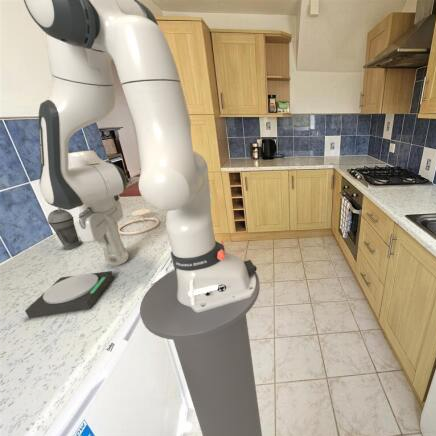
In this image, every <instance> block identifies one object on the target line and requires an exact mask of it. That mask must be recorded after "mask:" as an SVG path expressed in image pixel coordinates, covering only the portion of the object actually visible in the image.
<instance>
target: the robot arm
mask: <svg viewBox="0 0 436 436" xmlns="http://www.w3.org/2000/svg"><path fill="white" fill-rule="evenodd" d="M23 2H24V5H25V7H26V11H27V12H28V14H29V15H30V17H31V18H32V20H33V22H35V24H36V25H37V26H38V27H39V28H40V29H41V31H42V32H44V33H45V34H46V51H47V58H48V59H47V60H48V66H49V70H50V75H51V81H52V84H51V85H52V87H51V91H50V94H49V96H48V98H47V99H45V100H44V101H43V102H41V103H40V105H39V108H38V140H39V159H40V173H39V189H40V193H41V196H42V197H43V198H44V200H45V202H46V203H47V204H48V205H50V206H51V207H55V208H57V209H58V208H60V209H61V210H66V211H71V210H73V209H76V208H78V209H79V211H80V212H79V214H78V218H77V220H76V227H77V228H76V229H77V233H78V235H79V238H80V241H81V242H83V243H84V244H89V243H97V244H98V245H99V247H100V248H102V249H103V248H105V247H107V246H108V241H107V240H106V241H105V239H104V234H105V233H106V232H107V229H106V225H105V221H106V219H105V216H103V215H105V214H107V213H109V214H108V215H109V216H110V217H112V218H114V219H115V220H116V221H117V223H118V222H120V220H122V219H123V216H124V211H123V208H122V204H121V201H120V199H121V198H120V197H121V196H120V195H121V194H123V193H124V192H125V190H126V189H127V186H128V180H127V176H126V174H125V171H124V170H123V169H122V168H121V167H119V165H116V164H114V163H112V162H110V163H109V162H107V161H105V160H103V159H101V158H100V157H99V156H98V154H97V152H96V151H95V150H93V149H77V150H71V151H69V143H70V139H71V138H72V136H73V135H75V134H76V133H77V132H79V131H80V130H81V129H83V128H85V127H88V126H90V125H92V124H95V123H98V122H100V121H103V120H104V119H105V118H107V117H108V116H109V115H110V114H111V113H112V112H113V111H114V109H115V107H116V91H115V82H114V75H113V70H112V61H113V63H114V66H115V69H116V72H117V75H118V78H119V82H120V85H121V88H122V91H123V94H124V97H125V100H126V103H127V106H128V110H129V113H130V115H131V119H132V121H133V125H134V130H135V134H136V141H137V148H138V157H139V165H140V172H139V173H140V174H139V179H138V189H139V193H140V196H141V197H142V199H143V200H144V201H145V202H146V203H147V204H148V205H149V206H151V207H152V208H154V209H156V210H159V211H163V212H166V216H165V230H166V233H167V238H168V241H169V245H170V248H171V252H170V257H171V262H172V266H173V268H174V270H175V271H176V272H177V281H178V290H177V299H178V301H179V302H180V303H182V304H183V305H186V306H189V307H191V308H192V309H193V310H194V311H195V312H197V313H199V312H203V311H206V310H209V309H213V308H216V307H219V306H223V305H226V304H229V303H233V302H236V301H240V300H243V299H246V298H249V297H251V296H252V295H253V294H254V292H255V290H256V277H255V274H256V273H257V269H258V268H257V266H256V265H254V263H253V262H252V260H251V259H248V260H243V259H242V258H241V257H239V256H236V255H234V254H231V253H229V252H227V251H225V249H226V248H225V245H224V242H223V240H220V241H221V242H219V241H217V240H216V238H215V236H216V235H215V231H214V224H213V219H212V218H213V217H212V208H211V207H212V206H211V205H212V203H211V189H210V178H209V168H208V167H209V166H208V164H207V161H206V160H205V158H204V157H203V156H202V155H201V154H200V153H198V152H196V151H194V148H193V140H192V120H191V117H190V113H189V110H188V109H189V108H188V105H187V100H186V97H185V92H184V90H183V84H182V82H181V77H180V73H179V70H178V66H177V64H176V61H175V58H174V56H173V52H172V50H171V47H170V45H169V42H168V40H167V38H166V36H165V33H164V32H163V30H162V29H161V27H159V24H158V20H157V19H156V16H155V15H154V14H153V12H152V11H151V10H150V9H149V8H148V7H147V6H146V5H145V4H144V3H142V2H141V1H139V0H23Z"/></svg>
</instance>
